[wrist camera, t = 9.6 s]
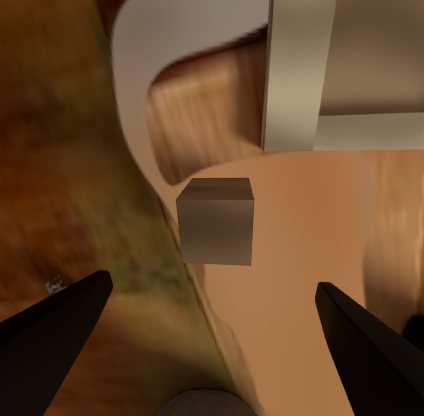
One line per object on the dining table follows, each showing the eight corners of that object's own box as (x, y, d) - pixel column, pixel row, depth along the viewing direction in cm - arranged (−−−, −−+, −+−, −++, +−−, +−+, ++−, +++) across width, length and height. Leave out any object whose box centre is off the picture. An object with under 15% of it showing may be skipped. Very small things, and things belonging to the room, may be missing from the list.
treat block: (246, 228, 18) (250, 265, 13) (196, 227, 18) (182, 262, 14) (248, 177, 16) (254, 200, 11) (192, 178, 16) (175, 199, 12)
